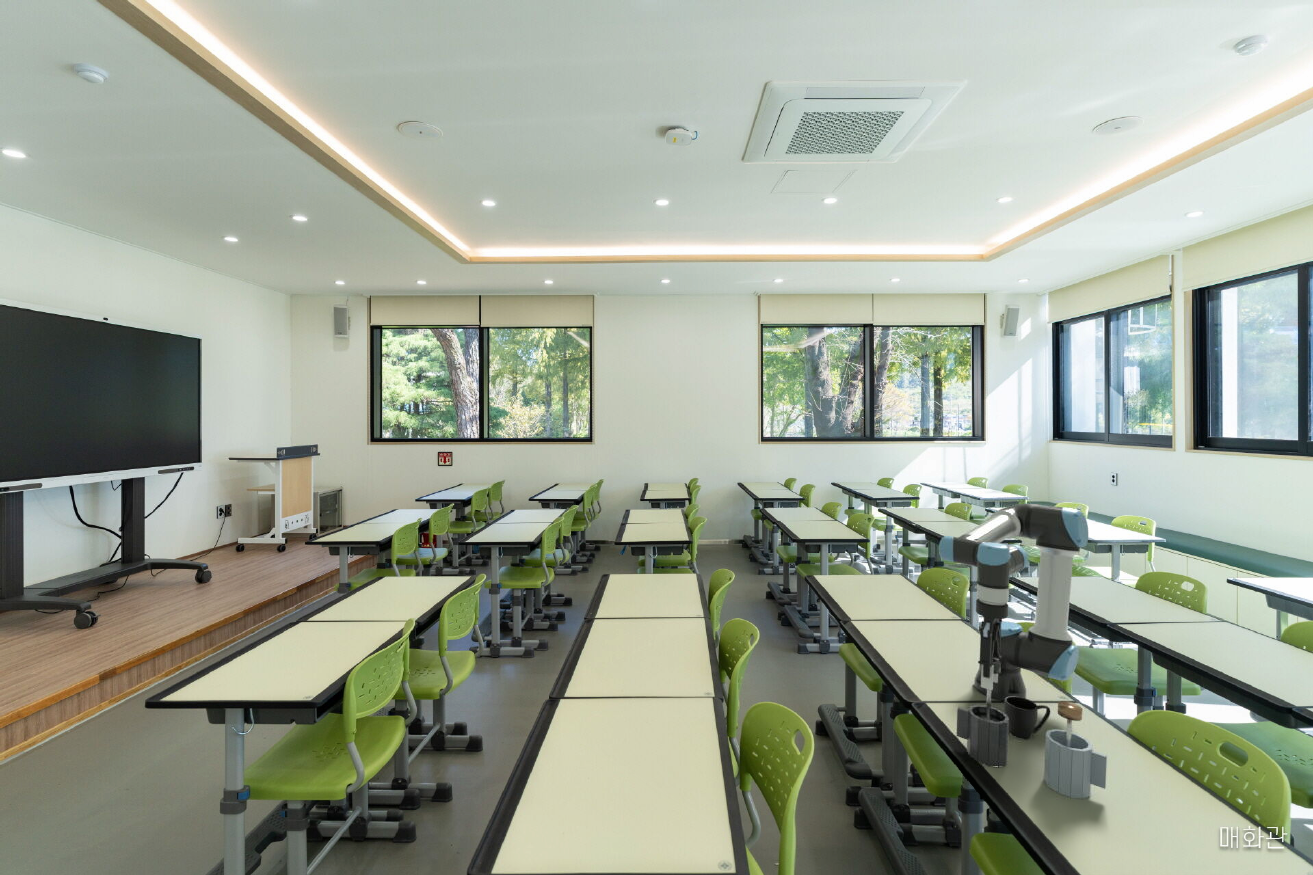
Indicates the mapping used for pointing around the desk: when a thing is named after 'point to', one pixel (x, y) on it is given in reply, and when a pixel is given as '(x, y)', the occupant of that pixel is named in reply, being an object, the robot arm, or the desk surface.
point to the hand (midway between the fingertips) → (989, 684)
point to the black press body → (984, 734)
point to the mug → (1023, 716)
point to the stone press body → (1073, 765)
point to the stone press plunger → (1069, 716)
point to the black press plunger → (988, 708)
